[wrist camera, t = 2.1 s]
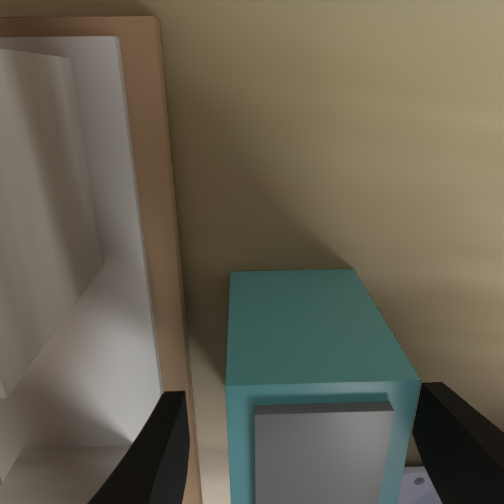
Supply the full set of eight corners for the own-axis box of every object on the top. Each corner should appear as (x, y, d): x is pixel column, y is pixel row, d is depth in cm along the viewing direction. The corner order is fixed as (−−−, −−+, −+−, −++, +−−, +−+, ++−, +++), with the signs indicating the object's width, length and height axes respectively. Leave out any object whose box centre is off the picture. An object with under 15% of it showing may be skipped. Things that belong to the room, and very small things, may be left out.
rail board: (159, 20, 11) (39, -72, 5) (204, 526, 20) (186, 760, 13) (-165, 23, 11) (-802, -66, 4) (21, 533, 20) (-95, 774, 13)
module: (353, 268, 15) (426, 389, 9) (340, 395, 17) (392, 556, 11) (230, 270, 15) (225, 395, 9) (235, 399, 17) (233, 562, 11)
